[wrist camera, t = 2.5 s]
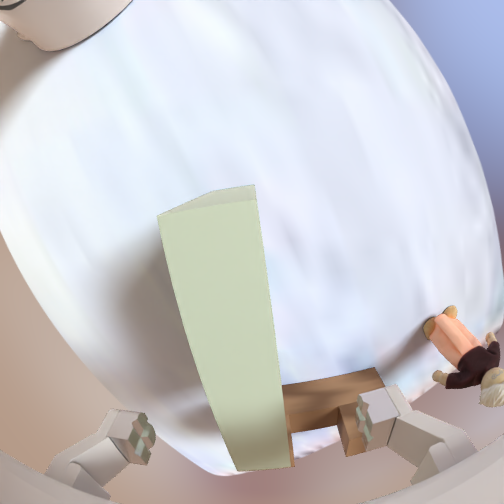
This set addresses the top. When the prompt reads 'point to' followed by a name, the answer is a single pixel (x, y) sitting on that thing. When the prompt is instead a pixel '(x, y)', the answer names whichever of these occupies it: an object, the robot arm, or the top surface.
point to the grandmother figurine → (467, 358)
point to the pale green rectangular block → (230, 320)
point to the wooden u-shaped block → (328, 407)
